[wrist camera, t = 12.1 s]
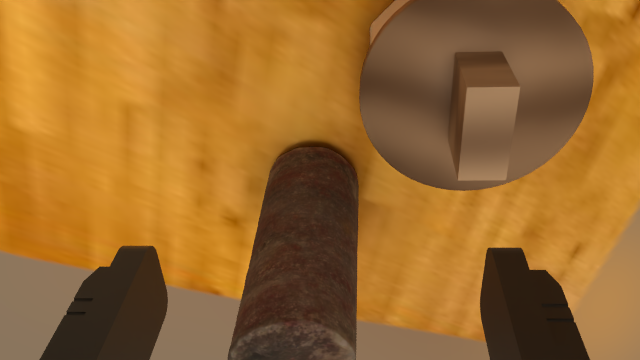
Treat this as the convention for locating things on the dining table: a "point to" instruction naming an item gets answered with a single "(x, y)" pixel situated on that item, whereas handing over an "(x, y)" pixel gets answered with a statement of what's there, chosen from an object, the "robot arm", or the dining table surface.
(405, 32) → the lid
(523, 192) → the dining table surface
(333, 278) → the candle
